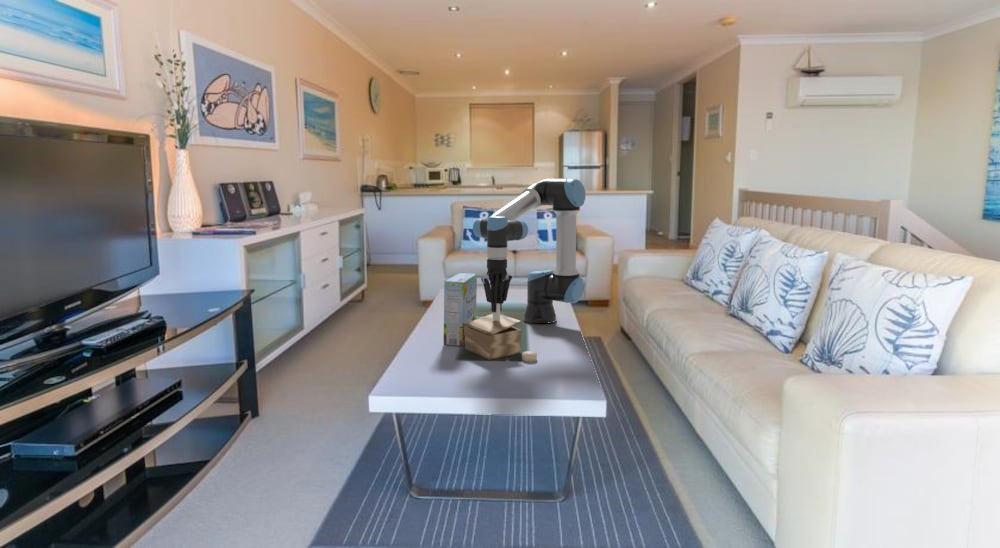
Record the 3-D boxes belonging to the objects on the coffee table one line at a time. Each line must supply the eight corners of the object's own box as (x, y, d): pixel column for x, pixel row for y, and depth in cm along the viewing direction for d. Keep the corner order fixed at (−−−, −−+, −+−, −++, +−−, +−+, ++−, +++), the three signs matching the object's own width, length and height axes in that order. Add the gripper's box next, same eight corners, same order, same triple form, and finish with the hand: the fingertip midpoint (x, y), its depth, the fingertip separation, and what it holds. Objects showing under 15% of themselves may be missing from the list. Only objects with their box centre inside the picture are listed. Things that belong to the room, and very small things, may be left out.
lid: (489, 335, 203) (489, 333, 203) (464, 325, 217) (464, 323, 217) (521, 322, 211) (520, 320, 211) (495, 314, 225) (494, 312, 224)
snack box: (464, 347, 221) (464, 282, 216) (442, 345, 222) (442, 281, 218) (477, 332, 242) (477, 272, 237) (457, 331, 243) (457, 272, 239)
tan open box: (496, 342, 226) (496, 321, 225) (520, 352, 214) (521, 329, 212) (465, 349, 218) (465, 326, 216) (489, 360, 205) (489, 335, 204)
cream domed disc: (530, 356, 210) (530, 350, 209) (539, 360, 205) (539, 353, 205) (519, 359, 207) (519, 352, 206) (528, 362, 202) (528, 356, 202)
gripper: (505, 256, 218) (504, 316, 222) (476, 258, 210) (476, 320, 214) (517, 258, 212) (516, 319, 216) (488, 260, 204) (487, 324, 208)
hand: (496, 320), depth 215 cm, fingers closed
